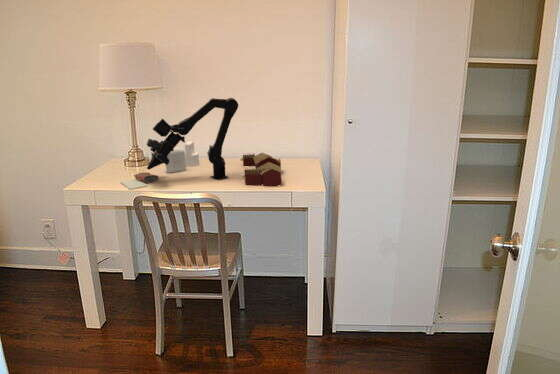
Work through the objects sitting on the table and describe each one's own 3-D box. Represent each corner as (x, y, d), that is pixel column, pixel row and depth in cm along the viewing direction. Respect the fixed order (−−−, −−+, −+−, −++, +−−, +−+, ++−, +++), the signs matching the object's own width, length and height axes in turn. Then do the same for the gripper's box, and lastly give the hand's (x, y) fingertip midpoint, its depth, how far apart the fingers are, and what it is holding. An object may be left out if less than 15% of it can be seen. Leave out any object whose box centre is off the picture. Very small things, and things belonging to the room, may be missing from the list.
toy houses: (287, 186, 218) (287, 164, 215) (242, 188, 215) (241, 166, 212) (274, 162, 261) (274, 144, 258) (237, 163, 258) (236, 145, 255)
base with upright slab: (184, 162, 261) (183, 141, 257) (200, 162, 260) (199, 141, 257) (180, 166, 252) (179, 144, 249) (197, 166, 252) (195, 144, 248)
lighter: (158, 181, 227) (147, 177, 234) (158, 174, 226) (147, 170, 233) (144, 183, 221) (132, 179, 228) (144, 176, 221) (132, 172, 227)
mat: (148, 186, 218) (148, 185, 218) (130, 189, 213) (129, 188, 213) (137, 179, 229) (137, 178, 229) (120, 182, 224) (119, 181, 224)
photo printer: (184, 168, 248) (182, 145, 244) (187, 170, 244) (185, 147, 241) (165, 171, 242) (163, 148, 239) (168, 173, 239) (166, 149, 235)
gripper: (152, 129, 226) (131, 154, 225) (160, 136, 210) (136, 162, 209) (170, 143, 231) (149, 168, 230) (178, 151, 215) (156, 177, 214)
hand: (147, 168), depth 221 cm, fingers closed
